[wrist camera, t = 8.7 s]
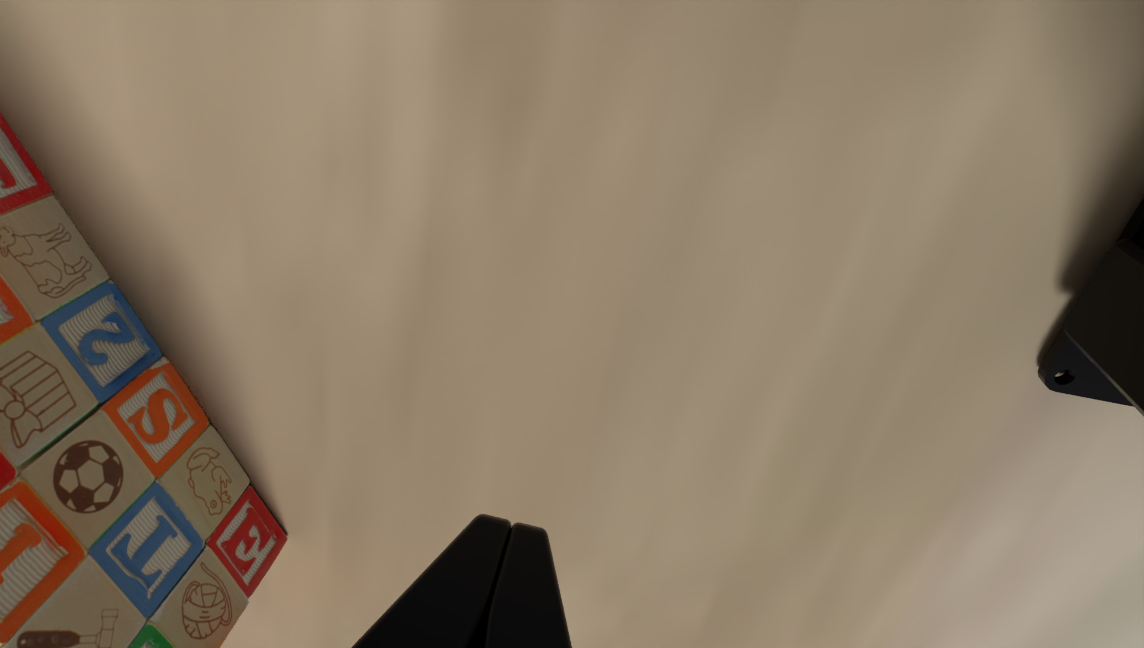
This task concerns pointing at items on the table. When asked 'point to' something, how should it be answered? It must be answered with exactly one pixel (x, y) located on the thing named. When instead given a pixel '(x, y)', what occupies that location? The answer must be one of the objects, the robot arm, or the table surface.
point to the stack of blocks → (106, 457)
